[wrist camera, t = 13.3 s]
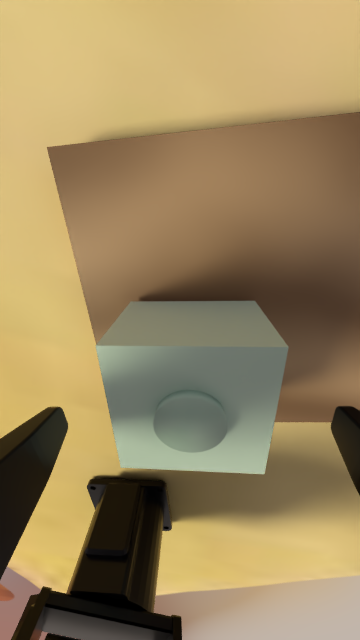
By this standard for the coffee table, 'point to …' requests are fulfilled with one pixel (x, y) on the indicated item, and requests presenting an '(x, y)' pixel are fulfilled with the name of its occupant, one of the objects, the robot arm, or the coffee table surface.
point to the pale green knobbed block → (193, 385)
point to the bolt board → (231, 237)
